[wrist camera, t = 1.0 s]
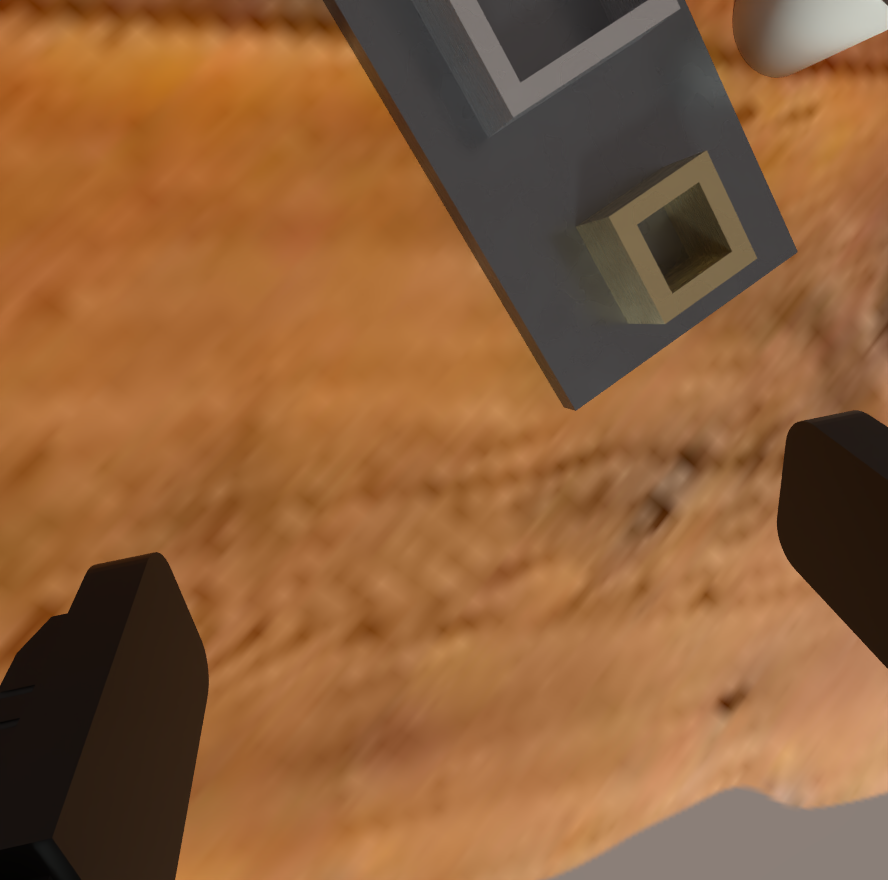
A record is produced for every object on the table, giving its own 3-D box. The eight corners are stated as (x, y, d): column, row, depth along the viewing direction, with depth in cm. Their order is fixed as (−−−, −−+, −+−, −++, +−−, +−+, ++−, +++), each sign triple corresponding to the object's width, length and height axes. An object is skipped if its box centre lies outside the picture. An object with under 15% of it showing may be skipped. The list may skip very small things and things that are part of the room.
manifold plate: (314, -15, 31) (322, -75, 27) (581, -176, 33) (634, -260, 28) (564, 407, 38) (607, 420, 33) (778, 254, 39) (849, 245, 34)
